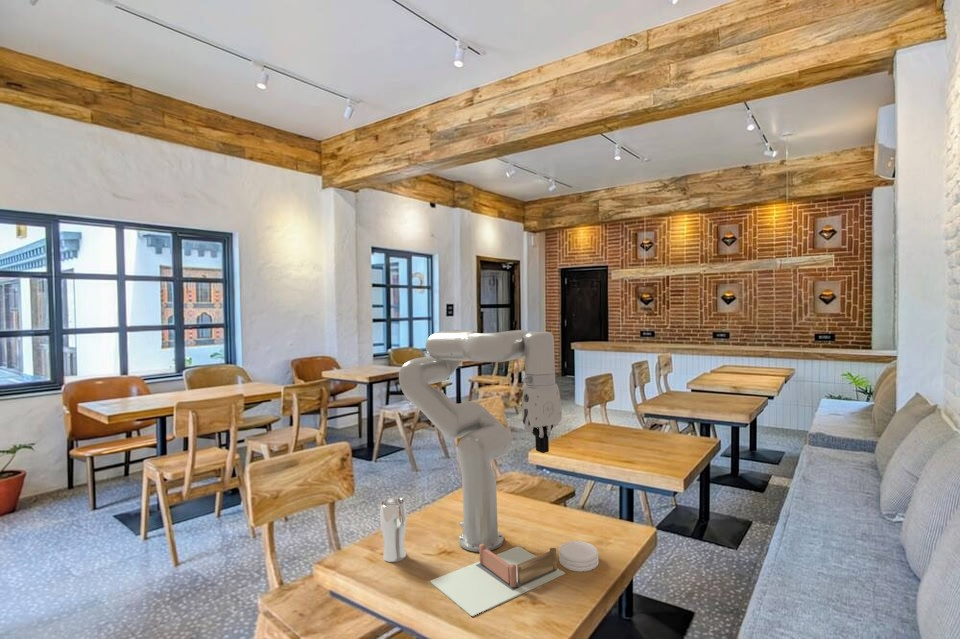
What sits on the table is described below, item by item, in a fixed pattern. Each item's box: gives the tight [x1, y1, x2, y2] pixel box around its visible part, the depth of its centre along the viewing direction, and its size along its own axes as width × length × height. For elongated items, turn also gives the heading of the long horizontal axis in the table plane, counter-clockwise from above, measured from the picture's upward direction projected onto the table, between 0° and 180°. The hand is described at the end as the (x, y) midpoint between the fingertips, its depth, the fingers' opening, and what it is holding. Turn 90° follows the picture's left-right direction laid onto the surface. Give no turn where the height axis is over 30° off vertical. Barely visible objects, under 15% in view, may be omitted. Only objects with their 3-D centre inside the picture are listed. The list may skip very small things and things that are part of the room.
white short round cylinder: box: [558, 540, 600, 573], centre depth 134 cm, size 10×10×4 cm
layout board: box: [429, 545, 566, 617], centre depth 128 cm, size 18×28×1 cm, turn 126°
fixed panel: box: [517, 547, 558, 584], centre depth 127 cm, size 2×12×5 cm, turn 126°
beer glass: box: [379, 497, 407, 563], centre depth 140 cm, size 7×7×15 cm
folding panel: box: [479, 544, 517, 587], centre depth 128 cm, size 15×2×5 cm, turn 33°
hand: (542, 451), depth 133 cm, fingers closed
